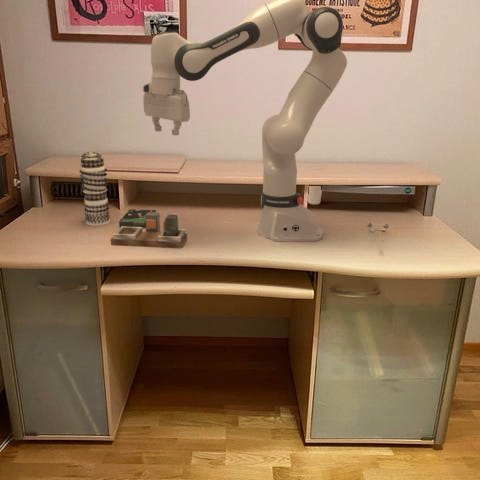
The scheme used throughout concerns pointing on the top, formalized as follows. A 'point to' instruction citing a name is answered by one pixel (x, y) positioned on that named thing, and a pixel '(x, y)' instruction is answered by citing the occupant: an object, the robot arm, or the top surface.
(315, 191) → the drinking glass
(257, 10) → the robot arm
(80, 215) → the top surface
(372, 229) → the diorama
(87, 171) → the decorative candle
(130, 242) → the wooden holder stand
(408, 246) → the top surface
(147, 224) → the grey orange block
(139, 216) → the disk drive
